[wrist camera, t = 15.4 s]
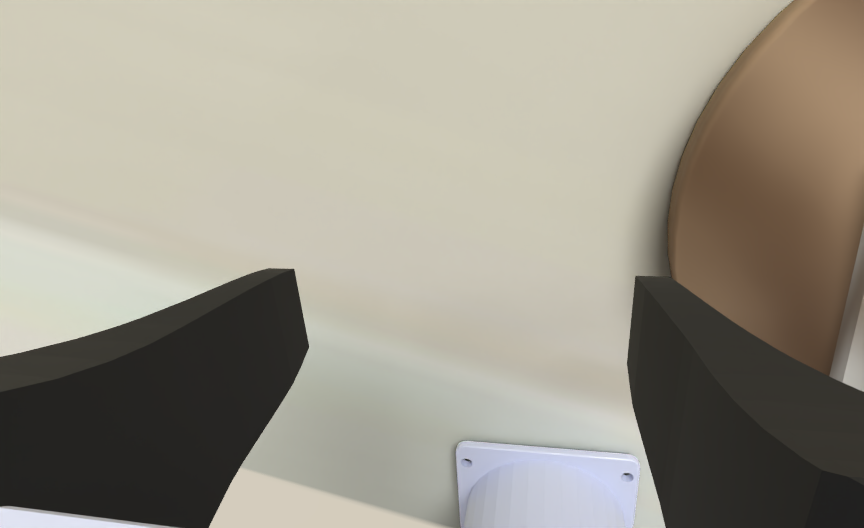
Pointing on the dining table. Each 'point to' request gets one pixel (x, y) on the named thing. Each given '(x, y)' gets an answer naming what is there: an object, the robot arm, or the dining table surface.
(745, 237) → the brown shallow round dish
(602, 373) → the dining table surface
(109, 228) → the dining table surface
